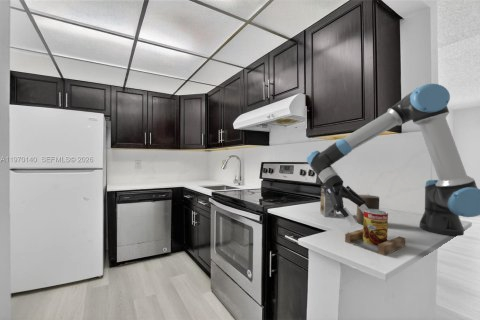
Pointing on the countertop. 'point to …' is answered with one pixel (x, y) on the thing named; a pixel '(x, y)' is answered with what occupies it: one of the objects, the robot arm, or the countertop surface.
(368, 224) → the canned food
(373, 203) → the pillar candle
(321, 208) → the coffee box
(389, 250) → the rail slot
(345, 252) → the countertop surface
